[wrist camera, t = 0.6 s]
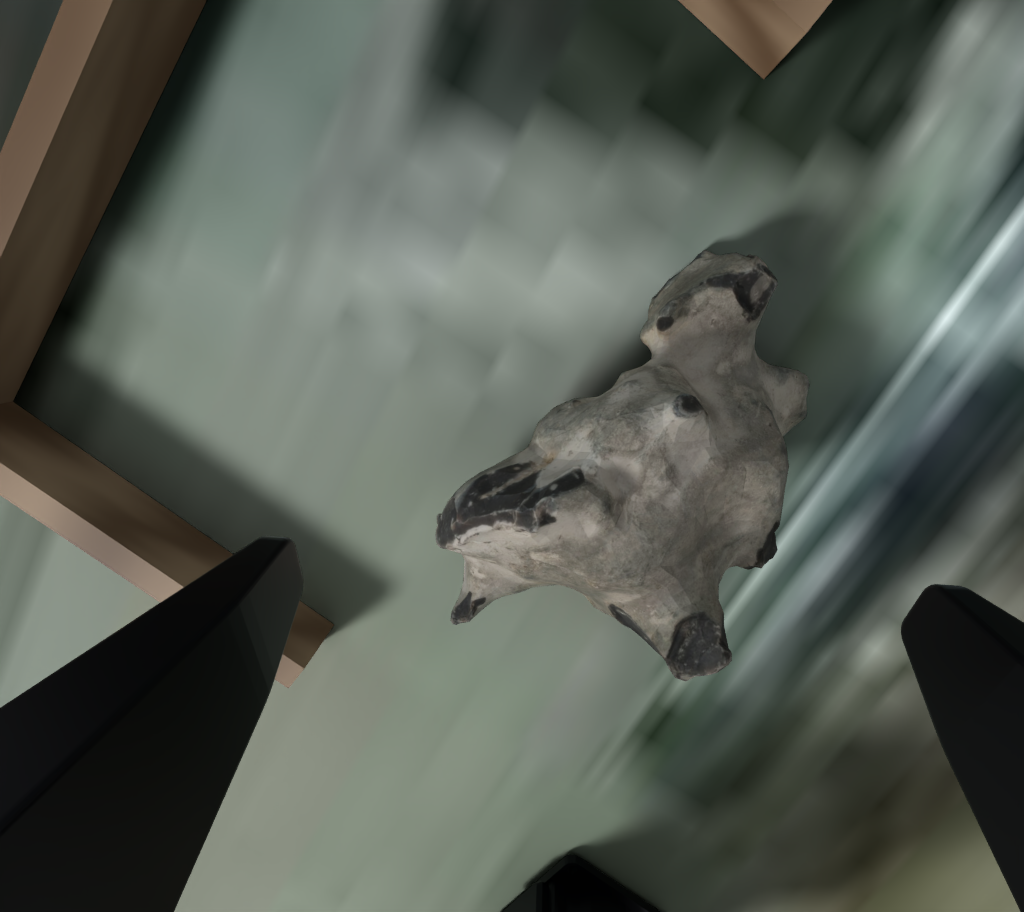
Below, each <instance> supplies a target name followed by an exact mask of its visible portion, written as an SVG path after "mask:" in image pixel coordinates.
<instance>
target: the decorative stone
mask: <svg viewBox="0 0 1024 912" xmlns="http://www.w3.org/2000/svg"><path fill="white" fill-rule="evenodd" d="M777 286H778V282H777V279H776V278H775V276H774V275H773V274H772V272H771V271H770V270H769V268H768V267H767V265H766V264H765V263H764V262H763V261H762V260H761V259H760V258H759V257H757V256H754V255H748V256H744V255H741V254H739V253H728V254H724V255H720V256H719V255H716V254H713V253H711V252H709V251H706V250H704V251H703V252H701V253H700V254H698V255H697V257H696V258H695V259H694V260H693V261H692V262H691V263H690V264H689V265H688V266H687V267H686V268H685V269H684V270H682V271H681V272H680V273H679V274H677V275H676V276H674V277H672V278H671V279H669V280H668V281H667V283H666V284H665V285H664V286H663V288H662V289H661V290H660V291H659V292H658V293H657V295H656V296H654V297H653V298H652V301H651V304H650V307H649V311H648V321H647V322H646V323H645V324H644V326H643V328H642V330H641V333H640V338H641V341H642V342H643V343H644V344H645V345H647V346H648V347H649V349H650V351H651V354H652V358H651V360H650V361H648V362H647V363H646V364H644V365H643V366H641V367H638V368H635V369H632V370H629V371H625V372H622V373H621V374H620V376H619V378H618V380H617V381H616V383H615V384H614V386H613V387H612V388H611V389H610V390H608V391H607V392H605V393H604V394H602V395H600V396H598V397H590V398H575V399H573V400H570V401H568V402H565V403H563V404H560V405H558V406H556V407H555V408H553V409H552V410H551V411H550V412H549V413H548V414H547V415H546V416H545V417H544V418H542V419H541V420H540V421H539V422H538V424H537V426H536V428H535V431H534V434H533V437H532V440H531V442H530V444H529V447H527V448H526V449H525V450H523V451H522V452H520V453H517V454H515V455H513V456H511V457H509V458H507V459H505V460H503V461H502V462H500V463H498V464H496V465H495V466H493V467H491V468H489V469H486V470H484V471H482V472H480V473H479V474H477V475H476V476H474V477H473V478H471V479H470V480H468V481H467V482H466V483H464V484H463V485H462V486H461V487H460V488H459V489H458V490H457V491H456V492H455V493H454V495H453V496H452V497H451V498H450V500H449V501H448V502H447V504H446V506H445V508H444V510H443V513H442V514H438V515H437V524H438V526H437V529H436V543H437V545H438V546H439V547H440V548H443V549H447V550H451V551H454V552H457V553H460V554H462V555H463V557H464V559H465V561H464V577H463V586H462V589H461V593H460V595H459V597H458V600H457V602H456V604H455V606H454V608H453V610H452V614H451V622H452V623H453V624H455V625H457V624H459V623H464V622H469V621H470V620H471V619H472V618H473V617H475V616H476V615H477V614H478V613H479V612H480V611H481V610H482V609H484V608H485V607H486V606H487V605H489V604H490V603H491V602H493V601H494V600H496V599H498V598H501V597H503V596H506V595H510V594H515V593H519V592H522V591H525V590H527V589H530V588H532V587H537V586H549V585H562V586H566V587H569V588H572V589H575V590H576V591H578V592H580V593H582V594H583V595H584V596H586V597H587V599H588V600H589V601H590V603H591V604H592V605H593V606H594V607H595V608H597V609H598V610H600V611H602V612H604V613H605V614H608V615H611V616H612V617H614V618H616V619H617V620H618V621H619V622H620V623H621V624H623V625H625V626H627V627H629V628H631V629H632V630H633V631H635V632H636V633H637V634H638V635H639V636H641V637H642V638H643V639H644V640H645V641H646V642H647V643H648V644H649V645H650V646H651V647H652V648H653V649H654V650H655V651H656V652H657V653H659V654H660V655H661V656H662V657H663V658H664V659H665V661H666V663H667V665H668V667H669V669H670V671H671V672H672V674H673V675H674V676H675V678H678V679H681V680H684V681H687V680H689V679H691V678H693V677H695V676H704V675H710V674H714V673H717V672H719V671H720V670H722V669H723V668H724V667H726V666H727V665H728V664H729V663H730V662H731V661H732V653H731V651H730V650H729V648H728V644H727V639H726V634H725V629H724V612H723V610H722V607H721V605H720V602H719V600H718V590H719V583H720V581H721V579H722V576H723V574H724V572H725V571H726V570H727V569H728V568H729V567H733V566H738V567H741V568H744V569H752V568H754V567H758V568H762V567H763V566H764V564H766V563H767V562H768V561H769V560H770V559H772V558H773V557H774V555H775V553H776V552H777V546H776V536H775V533H774V532H775V531H776V530H777V529H778V527H779V525H780V519H781V513H782V506H783V499H784V492H785V485H786V480H787V474H788V469H789V463H788V456H787V449H786V444H785V441H784V439H783V437H784V436H785V434H786V433H787V432H788V431H789V430H791V429H792V428H793V427H794V426H795V425H797V424H798V423H800V422H801V421H802V420H804V419H805V417H806V416H807V405H806V398H807V393H808V389H809V380H808V377H807V375H805V374H803V373H801V372H800V371H798V370H793V369H789V368H784V367H778V366H774V365H770V364H768V363H766V362H764V361H763V360H761V359H760V358H759V357H758V356H757V354H756V351H755V347H754V346H755V336H756V330H757V328H758V325H759V323H760V321H761V318H762V316H763V314H764V312H765V309H766V307H767V305H768V302H769V300H770V298H771V295H772V293H773V292H774V290H775V289H776V287H777Z"/></svg>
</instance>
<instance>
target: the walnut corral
mask: <svg viewBox="0 0 1024 912" xmlns="http://www.w3.org/2000/svg"><path fill="white" fill-rule="evenodd" d="M206 1H207V0H63V3H62V5H61V7H60V10H59V12H58V15H57V17H56V20H55V22H54V24H53V27H52V29H51V32H50V34H49V37H48V39H47V41H46V44H45V46H44V49H43V51H42V54H41V56H40V58H39V61H38V63H37V66H36V68H35V71H34V73H33V75H32V78H31V80H30V83H29V85H28V87H27V90H26V92H25V95H24V97H23V100H22V102H21V104H20V107H19V109H18V112H17V114H16V117H15V119H14V121H13V124H12V126H11V129H10V131H9V134H8V136H7V138H6V141H5V143H4V146H3V148H2V150H1V153H0V495H1V496H2V497H4V498H5V499H7V500H8V501H10V502H11V503H13V504H14V505H16V506H17V507H19V508H20V509H22V510H23V511H25V512H26V513H28V514H29V515H31V516H32V517H34V518H35V519H37V520H38V521H40V522H41V523H43V524H44V525H46V526H47V527H49V528H50V529H52V530H53V531H55V532H56V533H57V534H59V535H60V536H62V537H63V538H65V539H66V540H68V541H69V542H71V543H72V544H74V545H75V546H77V547H78V548H80V549H81V550H83V551H84V552H86V553H87V554H89V555H90V556H92V557H93V558H95V559H96V560H98V561H99V562H101V563H102V564H104V565H105V566H107V567H108V568H110V569H111V570H113V571H114V572H116V573H117V574H119V575H120V576H122V577H123V578H125V579H126V580H128V581H129V582H131V583H132V584H134V585H135V586H137V587H138V588H140V589H141V590H142V591H144V592H145V593H147V594H148V595H150V596H151V597H153V598H154V599H156V600H157V601H159V602H160V603H161V602H162V601H164V600H165V599H167V598H168V597H170V596H171V595H173V594H174V593H176V592H177V591H179V590H180V589H182V588H183V587H185V586H187V585H188V584H190V583H191V582H193V581H194V580H196V579H197V578H199V577H200V576H202V575H203V574H205V573H206V572H208V571H209V570H211V569H212V568H214V567H215V566H217V565H218V564H220V563H222V562H223V561H225V560H226V559H228V558H229V557H231V556H232V555H233V554H232V553H230V552H229V551H227V550H226V549H224V548H223V547H222V546H220V545H219V544H217V543H216V542H214V541H213V540H211V539H210V538H209V537H207V536H206V535H204V534H203V533H201V532H200V531H199V530H197V529H196V528H194V527H193V526H191V525H190V524H188V523H187V522H186V521H184V520H183V519H181V518H180V517H178V516H177V515H175V514H174V513H173V512H171V511H170V510H168V509H167V508H165V507H164V506H162V505H161V504H160V503H158V502H157V501H155V500H154V499H152V498H151V497H150V496H148V495H147V494H145V493H144V492H142V491H141V490H139V489H138V488H137V487H135V486H134V485H132V484H131V483H129V482H128V481H126V480H125V479H124V478H122V477H121V476H119V475H118V474H116V473H115V472H113V471H112V470H111V469H109V468H108V467H106V466H105V465H103V464H102V463H101V462H99V461H98V460H96V459H95V458H93V457H92V456H90V455H89V454H88V453H86V452H85V451H83V450H82V449H80V448H79V447H77V446H76V445H75V444H73V443H72V442H70V441H69V440H67V439H66V438H64V437H63V436H62V435H60V434H59V433H57V432H56V431H54V430H53V429H51V428H50V427H49V426H47V425H46V424H44V423H43V422H41V421H40V420H39V419H37V418H36V417H34V416H33V415H31V414H30V413H28V412H27V411H26V410H24V409H23V408H21V407H20V406H18V405H17V404H15V403H14V402H13V400H14V398H15V396H16V394H17V392H18V390H19V388H20V386H21V384H22V382H23V380H24V378H25V375H26V373H27V371H28V369H29V367H30V365H31V363H32V361H33V359H34V357H35V355H36V353H37V351H38V349H39V347H40V344H41V342H42V340H43V338H44V336H45V334H46V332H47V330H48V328H49V326H50V324H51V322H52V320H53V318H54V315H55V313H56V311H57V309H58V307H59V305H60V303H61V301H62V299H63V297H64V295H65V293H66V291H67V289H68V286H69V284H70V282H71V280H72V278H73V276H74V274H75V272H76V270H77V268H78V266H79V264H80V262H81V260H82V257H83V255H84V253H85V251H86V249H87V247H88V245H89V243H90V241H91V239H92V237H93V235H94V233H95V231H96V228H97V226H98V224H99V222H100V220H101V218H102V216H103V214H104V212H105V210H106V208H107V206H108V204H109V202H110V200H111V197H112V195H113V193H114V191H115V189H116V187H117V185H118V183H119V181H120V179H121V177H122V175H123V173H124V171H125V168H126V166H127V164H128V162H129V160H130V158H131V156H132V154H133V152H134V150H135V148H136V146H137V144H138V142H139V139H140V137H141V135H142V133H143V131H144V129H145V127H146V125H147V123H148V121H149V119H150V117H151V115H152V113H153V110H154V108H155V106H156V104H157V102H158V100H159V98H160V96H161V94H162V92H163V90H164V88H165V86H166V84H167V81H168V79H169V77H170V75H171V73H172V71H173V69H174V67H175V65H176V63H177V61H178V59H179V57H180V55H181V52H182V50H183V48H184V46H185V44H186V42H187V40H188V38H189V36H190V34H191V32H192V30H193V28H194V26H195V24H196V21H197V19H198V17H199V15H200V13H201V11H202V9H203V7H204V5H205V3H206ZM678 1H680V2H681V3H682V4H683V5H684V6H685V7H686V8H687V9H688V10H689V11H690V12H691V13H693V14H694V15H695V16H696V17H697V18H698V19H699V20H700V21H701V22H702V23H703V24H704V25H705V26H707V27H708V28H709V29H710V30H711V31H712V32H713V33H714V34H715V35H716V36H717V37H718V38H720V39H721V40H722V41H723V42H724V43H725V44H726V45H727V46H728V47H729V48H730V49H731V50H732V51H734V52H735V53H736V54H737V55H738V56H739V57H740V58H741V59H742V60H743V61H744V62H745V63H747V64H748V65H749V66H750V67H751V68H752V69H753V70H754V71H755V72H756V73H757V74H758V75H760V76H761V77H762V78H763V79H764V78H765V77H766V76H767V75H768V74H769V73H770V72H771V71H772V70H773V69H774V68H775V67H776V65H777V64H778V63H779V62H780V61H781V60H782V59H783V58H784V57H785V56H786V55H787V54H788V53H789V51H790V50H791V49H792V48H793V47H794V46H795V45H796V44H797V43H798V42H799V41H800V40H801V38H802V37H803V36H804V35H805V34H806V33H807V32H808V31H809V29H810V28H811V27H812V25H813V24H814V23H815V22H816V20H817V19H818V18H819V17H820V15H821V14H822V13H823V12H824V10H825V9H826V8H827V7H828V5H829V4H830V3H831V1H832V0H678ZM333 626H334V624H333V623H331V622H330V621H328V620H327V619H325V618H324V617H322V616H321V615H320V614H318V613H317V612H315V611H314V610H312V609H311V608H309V607H308V606H307V605H305V604H304V603H302V602H301V601H299V604H298V607H297V611H296V614H295V617H294V620H293V623H292V626H291V629H290V633H289V636H288V639H287V642H286V645H285V648H284V651H283V655H282V658H281V661H280V664H279V667H278V670H277V673H276V677H275V680H277V681H278V682H280V683H281V684H283V685H284V686H286V687H287V688H289V687H290V686H291V685H292V683H293V682H294V681H295V680H296V678H297V677H298V676H299V675H300V673H301V672H302V671H303V670H304V668H305V667H306V665H307V664H308V662H309V661H310V659H311V658H312V657H313V655H314V654H315V652H316V651H317V649H318V648H319V646H320V645H321V643H322V642H323V641H324V639H325V638H326V636H327V635H328V633H329V632H330V630H331V629H332V627H333Z"/></svg>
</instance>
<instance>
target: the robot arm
mask: <svg viewBox="0 0 1024 912" xmlns="http://www.w3.org/2000/svg"><path fill="white" fill-rule="evenodd" d="M302 590H303V575H302V571H301V567H300V562H299V558H298V554H297V550H296V546H295V543H294V541H293V540H292V539H290V538H288V537H276V536H263V537H260V538H258V539H257V540H255V541H253V542H252V543H250V544H249V545H247V546H246V547H244V548H243V549H241V550H240V551H238V552H237V553H235V554H234V555H232V556H231V557H229V558H228V559H226V560H225V561H223V562H222V563H220V564H218V565H217V566H215V567H214V568H212V569H211V570H209V571H208V572H206V573H205V574H203V575H202V576H200V577H199V578H197V579H196V580H194V581H193V582H191V583H190V584H188V585H187V586H185V587H183V588H182V589H180V590H179V591H177V592H176V593H174V594H173V595H171V596H170V597H168V598H167V599H165V600H164V601H162V602H161V603H159V604H158V605H156V606H155V607H153V608H152V609H150V610H148V611H147V612H145V613H144V614H142V615H141V616H139V617H138V618H136V619H135V620H133V621H132V622H130V623H129V624H127V625H126V626H124V627H123V628H121V629H120V630H118V631H117V632H115V633H113V634H112V635H110V636H109V637H107V638H106V639H104V640H103V641H101V642H100V643H98V644H97V645H95V646H94V647H92V648H91V649H89V650H88V651H86V652H85V653H83V654H82V655H80V656H78V657H77V658H75V659H74V660H72V661H71V662H69V663H68V664H66V665H65V666H63V667H62V668H60V669H59V670H57V671H56V672H54V673H53V674H51V675H50V676H48V677H47V678H45V679H43V680H42V681H40V682H39V683H37V684H36V685H34V686H33V687H31V688H30V689H28V690H27V691H25V692H24V693H22V694H21V695H19V696H18V697H16V698H15V699H13V700H12V701H10V702H8V703H7V704H5V705H4V706H2V707H1V708H0V912H174V910H175V908H176V906H177V904H178V901H179V899H180V897H181V894H182V892H183V890H184V888H185V885H186V883H187V881H188V879H189V876H190V874H191V872H192V869H193V867H194V865H195V863H196V860H197V858H198V856H199V854H200V851H201V849H202V847H203V845H204V842H205V840H206V838H207V835H208V833H209V831H210V829H211V826H212V824H213V822H214V820H215V817H216V815H217V813H218V811H219V808H220V806H221V804H222V801H223V799H224V797H225V795H226V792H227V790H228V788H229V786H230V783H231V781H232V779H233V777H234V774H235V772H236V770H237V767H238V765H239V763H240V761H241V758H242V756H243V754H244V752H245V749H246V747H247V745H248V743H249V740H250V738H251V736H252V733H253V731H254V729H255V727H256V724H257V722H258V720H259V718H260V715H261V713H262V711H263V708H264V706H265V704H266V701H267V699H268V696H269V694H270V691H271V688H272V685H273V682H274V679H275V677H276V673H277V670H278V667H279V664H280V661H281V658H282V655H283V651H284V648H285V645H286V642H287V639H288V636H289V633H290V629H291V626H292V623H293V620H294V617H295V614H296V611H297V607H298V604H299V601H300V598H301V595H302ZM901 635H902V640H903V643H904V646H905V648H906V651H907V654H908V657H909V659H910V662H911V665H912V668H913V670H914V673H915V676H916V678H917V681H918V684H919V687H920V689H921V692H922V695H923V697H924V700H925V703H926V706H927V708H928V711H929V714H930V717H931V719H932V722H933V725H934V727H935V730H936V733H937V735H938V738H939V740H940V743H941V745H942V747H943V750H944V752H945V754H946V756H947V759H948V761H949V763H950V765H951V767H952V769H953V771H954V774H955V776H956V778H957V780H958V782H959V784H960V786H961V788H962V790H963V792H964V794H965V797H966V799H967V801H968V803H969V805H970V807H971V809H972V811H973V813H974V815H975V817H976V819H977V822H978V824H979V826H980V828H981V830H982V832H983V834H984V836H985V838H986V840H987V842H988V845H989V847H990V849H991V851H992V853H993V855H994V857H995V859H996V861H997V863H998V865H999V867H1000V870H1001V872H1002V874H1003V876H1004V878H1005V880H1006V882H1007V884H1008V886H1009V888H1010V890H1011V893H1012V895H1013V897H1014V899H1015V901H1016V903H1017V905H1018V907H1019V909H1020V911H1021V912H1024V622H1022V621H1020V620H1019V619H1017V618H1015V617H1014V616H1012V615H1010V614H1009V613H1007V612H1006V611H1004V610H1002V609H1001V608H999V607H997V606H996V605H994V604H993V603H991V602H989V601H988V600H986V599H984V598H983V597H981V596H979V595H978V594H976V593H975V592H973V591H971V590H969V589H968V588H965V587H961V586H953V585H940V584H934V585H930V586H928V587H927V588H925V589H924V591H923V592H922V593H921V595H920V596H919V598H918V599H917V601H916V602H915V604H914V605H913V607H912V608H911V610H910V611H909V613H908V614H907V616H906V617H905V619H904V620H903V622H902V626H901ZM503 912H660V911H658V910H657V909H655V908H654V907H653V906H651V905H650V904H648V903H647V902H645V901H644V900H642V899H641V898H639V897H638V896H636V895H635V894H633V893H632V892H630V891H629V890H627V889H626V888H624V887H623V886H622V885H620V884H619V883H617V882H616V881H614V880H613V879H611V878H610V877H608V876H607V875H605V874H604V873H602V872H601V871H599V870H598V869H596V868H595V867H593V866H592V865H591V864H589V863H588V862H586V861H585V860H583V859H582V858H580V857H579V856H576V855H567V856H565V857H564V858H563V859H562V860H561V861H559V862H558V863H557V864H556V865H555V866H554V867H553V868H551V869H550V870H549V871H548V872H547V873H546V874H545V875H543V876H542V877H541V878H540V879H539V880H538V881H537V882H536V883H534V884H533V885H532V886H531V887H530V888H529V889H528V890H526V891H525V892H524V893H523V894H522V895H521V896H520V897H518V898H517V899H516V900H515V901H514V902H513V903H512V904H510V905H509V906H508V907H507V908H506V909H505V910H504V911H503Z"/></svg>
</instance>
